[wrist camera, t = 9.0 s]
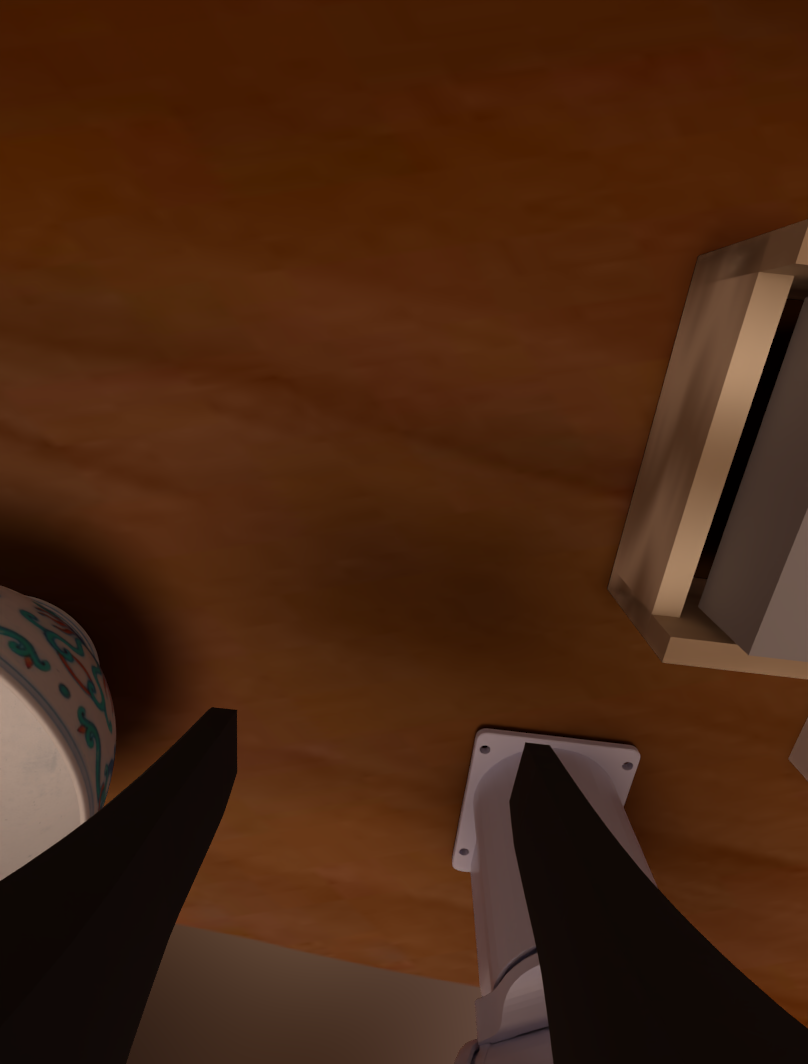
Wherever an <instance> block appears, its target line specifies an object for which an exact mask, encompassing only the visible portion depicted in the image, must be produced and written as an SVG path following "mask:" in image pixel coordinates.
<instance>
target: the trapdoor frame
mask: <svg viewBox="0 0 808 1064" xmlns="http://www.w3.org/2000/svg"><path fill="white" fill-rule="evenodd" d="M805 297H808V219H807V220H804V221H801V222H798V223H795V224H792V225H789V226H786V227H783V228H780V229H777V230H774V231H771V232H769V233H766V234H763V235H760V236H757V237H754V238H751V239H748V240H745V241H742V242H739V243H736V244H733V245H730V246H727V247H724V248H721V249H718V250H715V251H712V252H709V253H706V254H703V255H700V256H698V259H697V263H696V267H695V270H694V274H693V278H692V281H691V285H690V288H689V292H688V296H687V299H686V303H685V307H684V310H683V314H682V318H681V321H680V325H679V329H678V332H677V336H676V340H675V343H674V347H673V351H672V354H671V358H670V362H669V365H668V369H667V373H666V376H665V380H664V384H663V387H662V391H661V395H660V398H659V402H658V406H657V409H656V413H655V417H654V420H653V424H652V428H651V431H650V435H649V439H648V442H647V446H646V450H645V453H644V457H643V460H642V464H641V468H640V471H639V475H638V479H637V482H636V486H635V490H634V493H633V497H632V501H631V504H630V508H629V512H628V515H627V519H626V523H625V526H624V530H623V534H622V537H621V541H620V545H619V548H618V552H617V556H616V559H615V563H614V567H613V570H612V574H611V578H610V581H609V585H608V591H609V592H610V593H611V595H612V596H613V597H614V599H615V600H616V601H617V603H618V604H619V605H620V607H621V608H622V609H623V611H624V612H625V613H626V615H627V616H628V617H629V619H630V620H631V621H632V623H633V624H634V625H635V627H636V628H637V629H638V631H639V632H640V633H641V635H642V636H643V638H644V639H645V640H646V642H647V643H648V644H649V646H650V647H651V648H652V650H653V651H654V652H655V654H656V655H657V656H658V658H659V659H660V660H661V662H662V663H670V664H679V665H688V666H696V667H705V668H714V669H722V670H731V671H740V672H748V673H757V674H766V675H774V676H783V677H792V678H800V679H808V662H802V661H793V660H785V659H776V658H767V657H758V656H750V655H748V654H747V653H746V652H745V651H743V650H742V649H741V648H740V647H739V646H738V645H737V644H736V643H735V642H734V641H733V640H732V639H731V638H730V637H729V636H728V635H727V634H726V633H725V632H724V631H723V630H722V629H721V628H720V627H718V626H717V625H716V624H715V623H714V622H713V621H712V620H711V619H710V618H709V617H708V616H707V615H706V614H705V613H704V612H703V611H702V610H701V609H700V608H699V607H698V605H699V602H700V599H701V596H702V593H703V591H704V588H705V585H706V582H707V579H702V578H693V576H694V573H695V570H696V567H697V564H698V561H699V558H700V555H701V552H702V549H703V546H704V543H705V541H706V538H707V535H708V532H709V529H710V526H711V523H712V520H713V517H714V514H715V511H716V508H717V505H718V502H719V499H720V496H721V493H722V490H723V487H724V484H725V481H726V478H727V475H728V472H729V469H730V466H731V463H732V460H733V457H734V454H735V451H736V448H737V445H738V442H739V439H740V436H741V433H742V430H743V427H744V424H745V421H746V418H747V415H748V412H749V410H750V407H751V404H752V401H753V398H754V395H755V392H756V389H757V386H758V383H759V380H760V377H761V374H762V371H763V368H764V365H765V362H766V359H767V356H768V353H769V350H770V347H771V344H772V341H773V338H774V335H775V332H776V329H777V326H778V323H779V320H780V317H781V314H782V311H783V308H784V305H785V302H786V299H796V300H805Z"/></svg>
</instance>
